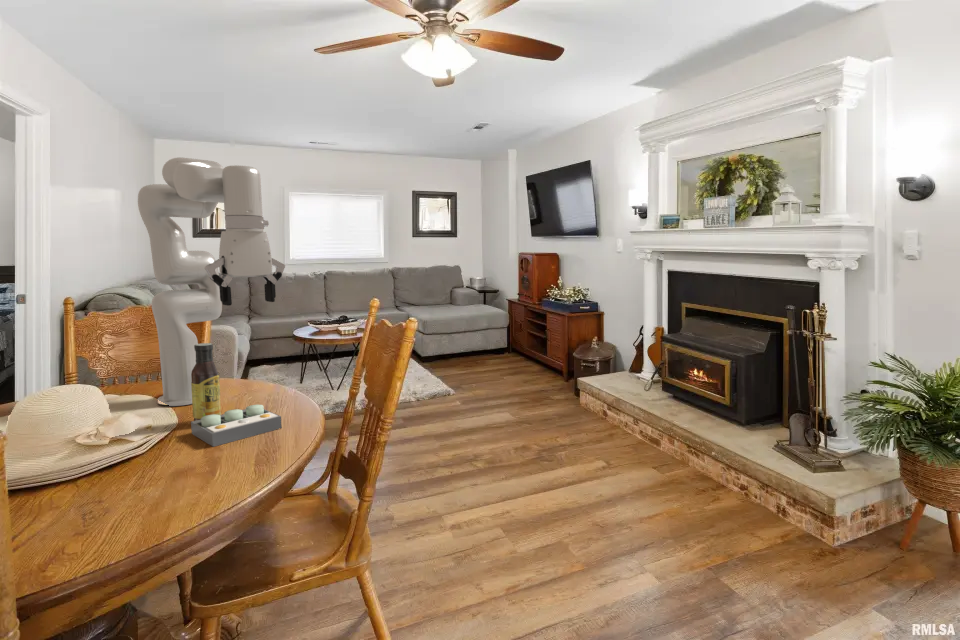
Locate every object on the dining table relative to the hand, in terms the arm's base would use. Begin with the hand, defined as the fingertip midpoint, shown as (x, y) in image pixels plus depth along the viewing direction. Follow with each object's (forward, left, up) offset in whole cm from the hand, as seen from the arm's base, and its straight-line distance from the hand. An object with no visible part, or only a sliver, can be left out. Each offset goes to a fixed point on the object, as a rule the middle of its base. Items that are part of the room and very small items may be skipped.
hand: (249, 303), depth 117 cm
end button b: (-9, +4, -30) cm, 32 cm away
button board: (-8, -1, -31) cm, 32 cm away
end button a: (-9, -6, -30) cm, 32 cm away
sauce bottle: (-20, -3, -31) cm, 37 cm away
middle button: (-9, -1, -30) cm, 31 cm away
